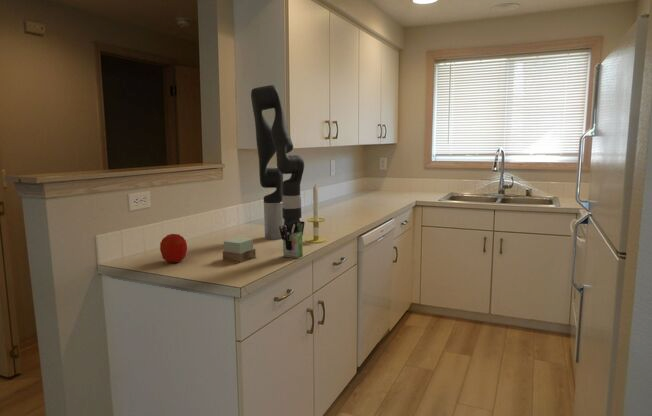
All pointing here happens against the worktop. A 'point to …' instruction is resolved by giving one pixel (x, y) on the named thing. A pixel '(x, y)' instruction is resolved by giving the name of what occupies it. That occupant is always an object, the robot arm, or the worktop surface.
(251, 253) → the tower base
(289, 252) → the ink box
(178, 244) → the apple
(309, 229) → the worktop surface
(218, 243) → the worktop surface
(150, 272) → the worktop surface
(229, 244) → the tower top
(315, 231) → the toy syringe
